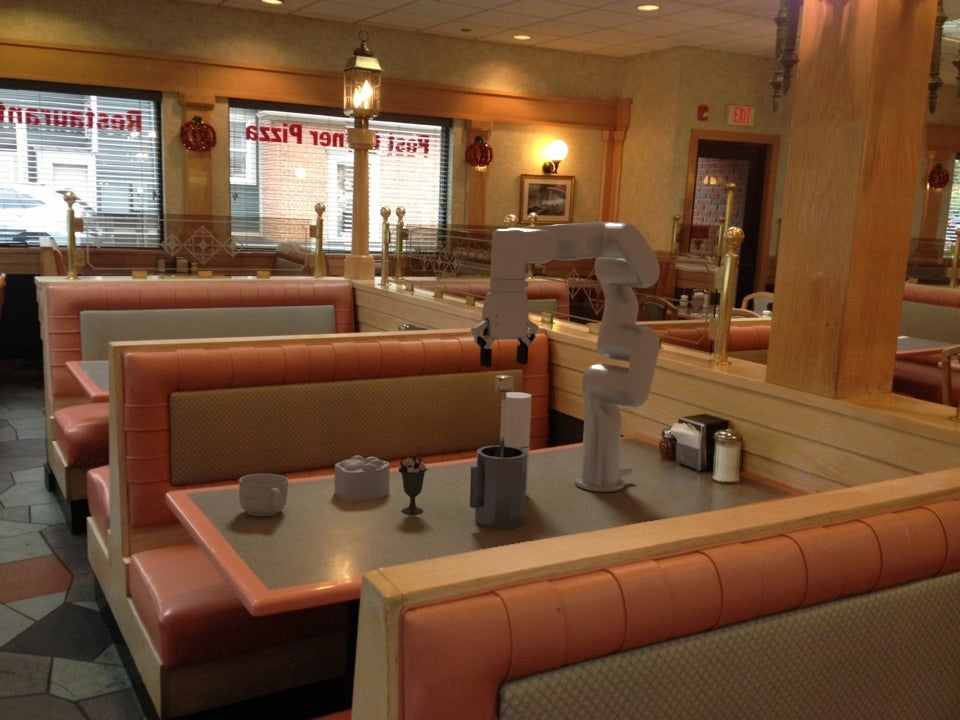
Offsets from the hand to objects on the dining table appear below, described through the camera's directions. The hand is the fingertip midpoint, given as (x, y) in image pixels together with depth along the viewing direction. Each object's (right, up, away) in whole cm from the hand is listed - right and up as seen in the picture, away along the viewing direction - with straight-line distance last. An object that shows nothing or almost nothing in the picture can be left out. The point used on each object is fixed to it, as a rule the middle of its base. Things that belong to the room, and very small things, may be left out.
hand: (504, 365), depth 191 cm
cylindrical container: (+3, -32, +25) cm, 41 cm away
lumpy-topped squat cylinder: (-34, -32, +22) cm, 51 cm away
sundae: (-21, -34, +11) cm, 41 cm away
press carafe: (-2, -35, +5) cm, 36 cm away
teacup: (-54, -34, +5) cm, 64 cm away
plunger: (0, -24, +4) cm, 24 cm away
